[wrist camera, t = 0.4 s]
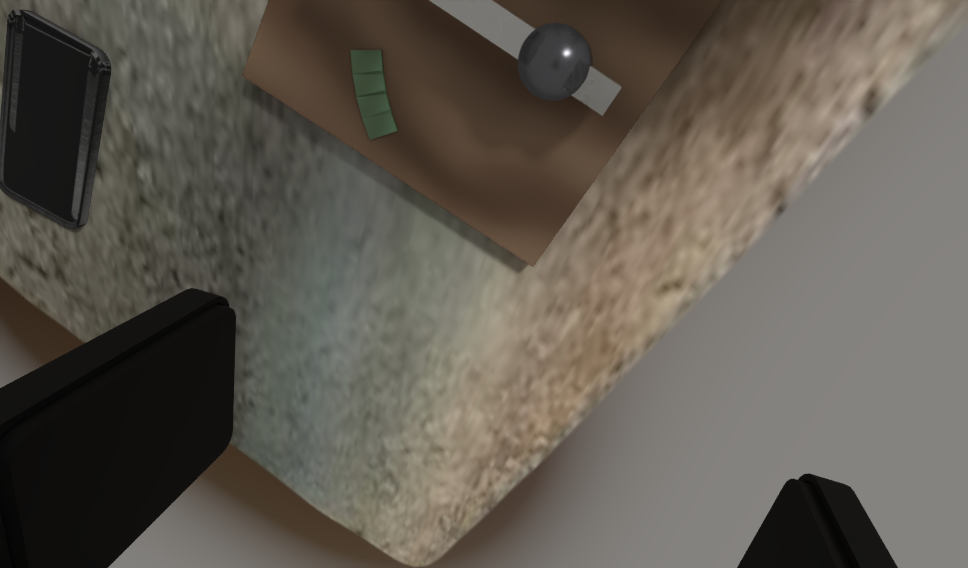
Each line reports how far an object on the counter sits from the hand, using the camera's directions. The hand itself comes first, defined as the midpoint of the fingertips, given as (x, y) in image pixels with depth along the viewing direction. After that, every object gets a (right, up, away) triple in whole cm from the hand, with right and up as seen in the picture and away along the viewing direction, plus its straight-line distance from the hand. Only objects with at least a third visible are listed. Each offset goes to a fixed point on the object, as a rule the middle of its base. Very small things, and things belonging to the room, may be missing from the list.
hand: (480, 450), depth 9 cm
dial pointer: (0, +18, +22) cm, 29 cm away
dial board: (-1, +19, +24) cm, 31 cm away
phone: (-33, +15, +34) cm, 50 cm away
